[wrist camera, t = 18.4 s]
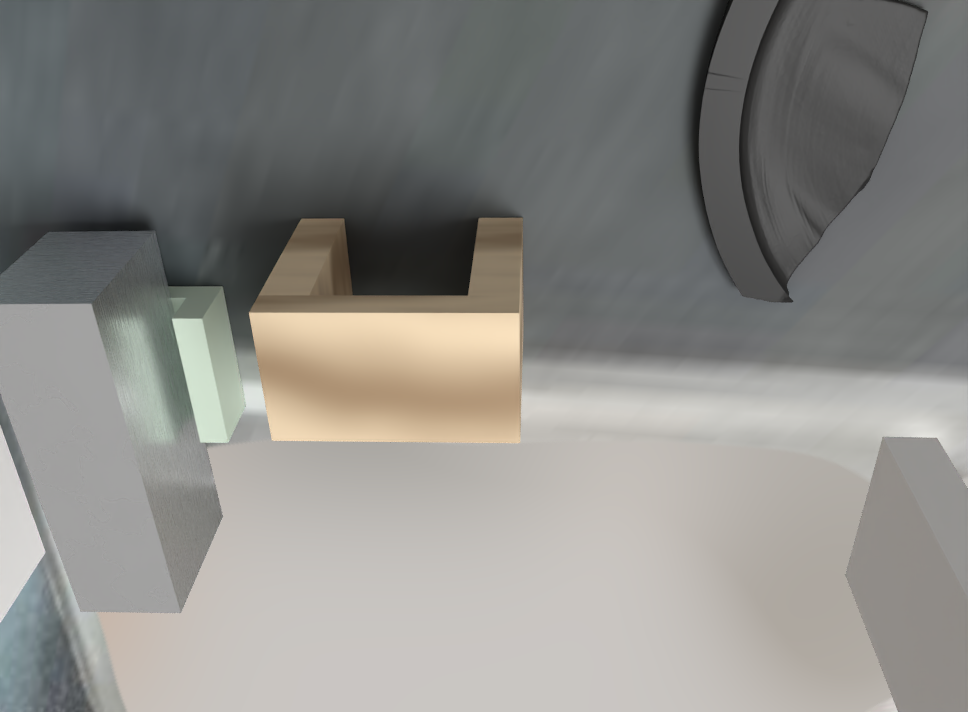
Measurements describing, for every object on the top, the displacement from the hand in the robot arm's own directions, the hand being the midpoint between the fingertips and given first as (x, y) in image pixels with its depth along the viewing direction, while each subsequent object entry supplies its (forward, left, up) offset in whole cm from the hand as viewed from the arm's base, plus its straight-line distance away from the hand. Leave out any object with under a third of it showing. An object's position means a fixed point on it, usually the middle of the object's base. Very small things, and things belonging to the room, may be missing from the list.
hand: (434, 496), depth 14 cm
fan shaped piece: (+3, +12, -29) cm, 31 cm away
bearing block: (+10, -4, -28) cm, 30 cm away
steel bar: (+16, -18, -27) cm, 36 cm away
